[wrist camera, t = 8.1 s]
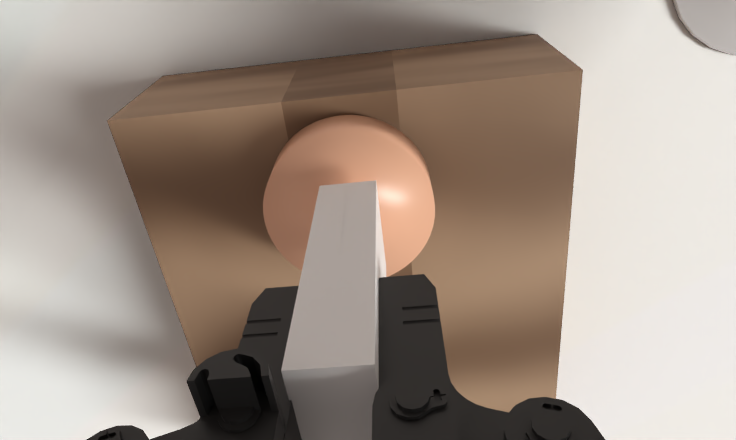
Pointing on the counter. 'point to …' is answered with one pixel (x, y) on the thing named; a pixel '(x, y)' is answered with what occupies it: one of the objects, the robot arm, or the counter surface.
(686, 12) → the wineglass
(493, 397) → the brown wooden holder block
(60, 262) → the counter surface
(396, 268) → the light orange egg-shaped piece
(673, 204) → the counter surface
